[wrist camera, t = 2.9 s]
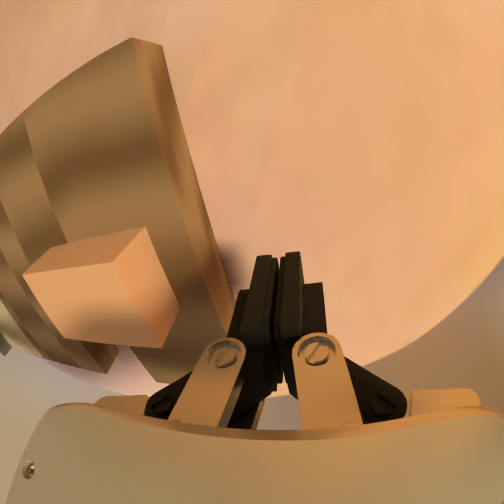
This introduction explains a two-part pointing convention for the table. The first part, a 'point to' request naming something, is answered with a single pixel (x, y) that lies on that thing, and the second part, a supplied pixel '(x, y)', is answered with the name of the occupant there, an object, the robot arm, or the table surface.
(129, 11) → the table surface
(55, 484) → the robot arm
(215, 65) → the table surface
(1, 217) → the platform
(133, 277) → the block
